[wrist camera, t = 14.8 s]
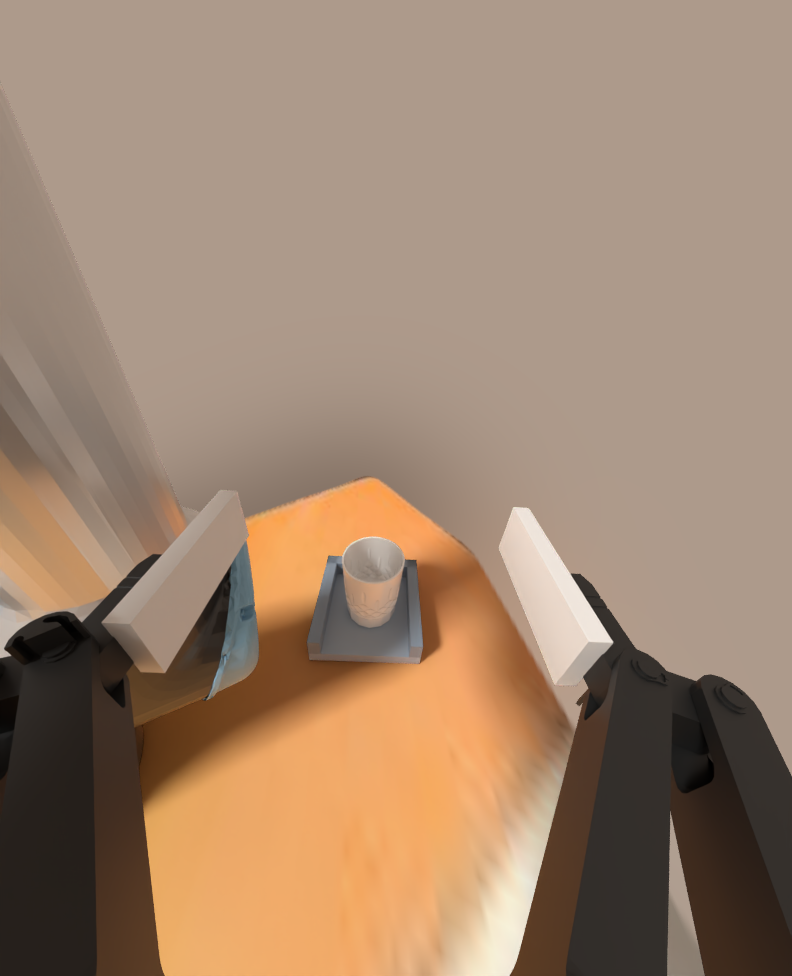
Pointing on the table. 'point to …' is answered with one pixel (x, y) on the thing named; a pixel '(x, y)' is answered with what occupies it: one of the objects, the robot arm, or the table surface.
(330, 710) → the table surface
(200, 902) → the table surface
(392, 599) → the white cup
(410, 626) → the dock
